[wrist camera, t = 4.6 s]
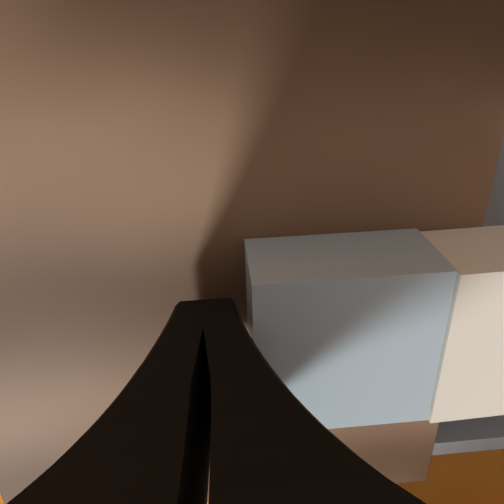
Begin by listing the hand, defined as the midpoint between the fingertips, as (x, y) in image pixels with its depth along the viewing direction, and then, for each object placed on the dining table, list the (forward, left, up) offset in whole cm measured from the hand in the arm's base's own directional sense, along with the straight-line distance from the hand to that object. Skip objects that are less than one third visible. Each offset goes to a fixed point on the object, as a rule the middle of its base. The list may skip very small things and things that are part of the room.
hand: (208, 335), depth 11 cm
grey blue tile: (0, -3, -1) cm, 3 cm away
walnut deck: (0, 0, -3) cm, 3 cm away
